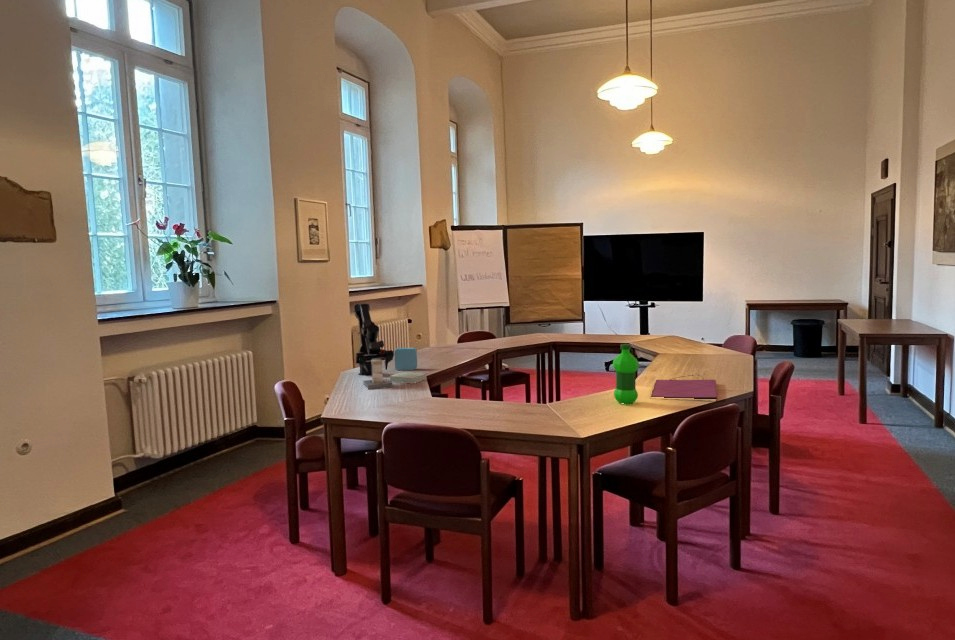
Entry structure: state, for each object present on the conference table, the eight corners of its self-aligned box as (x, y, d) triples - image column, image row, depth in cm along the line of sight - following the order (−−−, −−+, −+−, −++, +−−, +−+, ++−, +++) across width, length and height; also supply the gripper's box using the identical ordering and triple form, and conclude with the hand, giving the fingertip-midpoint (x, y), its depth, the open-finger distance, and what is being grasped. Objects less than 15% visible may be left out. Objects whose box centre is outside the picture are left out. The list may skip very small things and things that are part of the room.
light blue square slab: (417, 368, 372) (416, 347, 371) (416, 370, 368) (415, 348, 366) (396, 368, 373) (395, 347, 372) (395, 370, 368) (394, 349, 367)
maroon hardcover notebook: (717, 393, 277) (650, 392, 285) (717, 403, 277) (650, 401, 286) (715, 374, 314) (656, 373, 323) (716, 382, 315) (657, 382, 324)
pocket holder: (363, 384, 332) (363, 380, 332) (387, 382, 336) (387, 378, 335) (367, 389, 320) (367, 385, 320) (392, 386, 324) (392, 382, 324)
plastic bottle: (614, 400, 285) (614, 342, 282) (639, 401, 281) (639, 343, 279) (611, 405, 276) (611, 346, 273) (637, 406, 272) (637, 346, 269)
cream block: (372, 385, 329) (371, 359, 328) (381, 384, 331) (380, 358, 329) (374, 387, 325) (372, 361, 324) (383, 386, 327) (382, 360, 325)
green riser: (390, 381, 337) (389, 375, 337) (404, 377, 348) (404, 371, 347) (412, 384, 330) (412, 378, 330) (426, 379, 340) (426, 373, 340)
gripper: (355, 336, 327) (359, 362, 318) (392, 334, 333) (397, 359, 324) (353, 350, 335) (357, 375, 326) (389, 347, 341) (395, 372, 332)
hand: (377, 370), depth 327 cm, fingers open, 9 cm apart
